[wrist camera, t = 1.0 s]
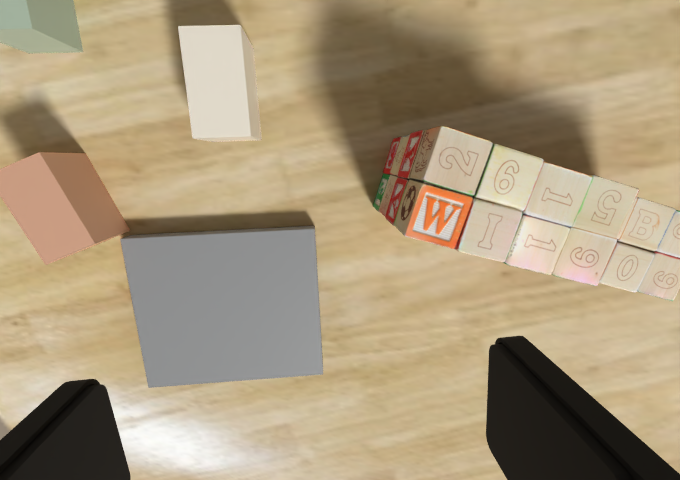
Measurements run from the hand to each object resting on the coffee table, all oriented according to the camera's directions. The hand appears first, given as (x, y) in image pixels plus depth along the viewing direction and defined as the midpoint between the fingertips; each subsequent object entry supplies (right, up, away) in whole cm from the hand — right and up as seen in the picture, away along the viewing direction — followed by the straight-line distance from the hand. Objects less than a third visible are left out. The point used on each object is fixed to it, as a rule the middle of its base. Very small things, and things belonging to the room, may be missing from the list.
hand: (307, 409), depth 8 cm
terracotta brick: (-21, +7, +21) cm, 30 cm away
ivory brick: (-8, +16, +20) cm, 26 cm away
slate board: (-9, -2, +24) cm, 25 cm away
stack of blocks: (+15, +7, +23) cm, 29 cm away
